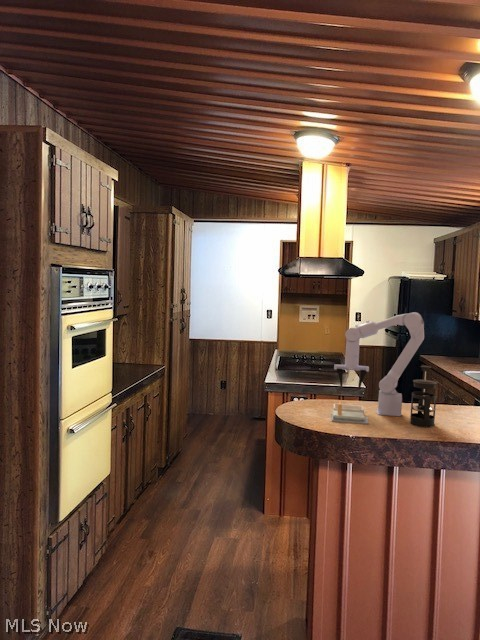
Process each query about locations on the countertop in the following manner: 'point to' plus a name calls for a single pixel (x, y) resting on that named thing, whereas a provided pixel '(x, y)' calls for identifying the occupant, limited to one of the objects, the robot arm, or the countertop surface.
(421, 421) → the french press
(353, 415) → the lid
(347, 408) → the tub
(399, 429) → the countertop surface
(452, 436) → the countertop surface
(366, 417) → the mat
